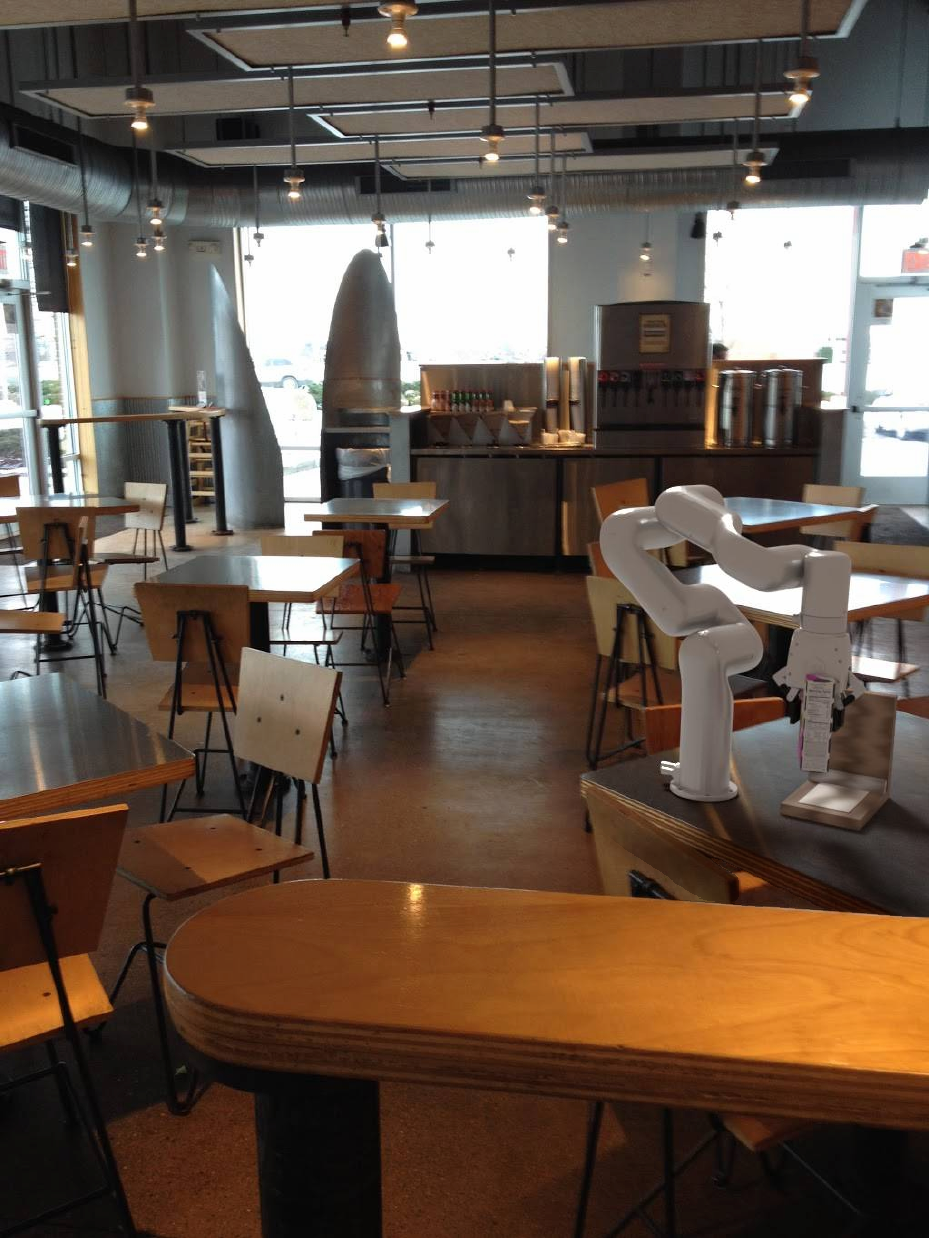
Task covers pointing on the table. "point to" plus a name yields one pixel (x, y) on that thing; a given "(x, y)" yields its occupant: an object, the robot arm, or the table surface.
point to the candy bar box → (816, 723)
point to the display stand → (852, 767)
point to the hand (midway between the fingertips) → (815, 725)
